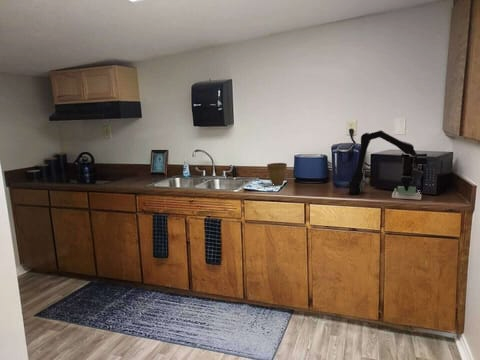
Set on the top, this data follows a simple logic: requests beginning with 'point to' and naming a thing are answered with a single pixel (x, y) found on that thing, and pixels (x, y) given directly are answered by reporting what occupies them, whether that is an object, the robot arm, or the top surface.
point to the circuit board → (410, 190)
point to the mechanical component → (364, 183)
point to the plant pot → (277, 172)
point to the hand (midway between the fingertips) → (406, 189)
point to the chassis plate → (406, 195)
